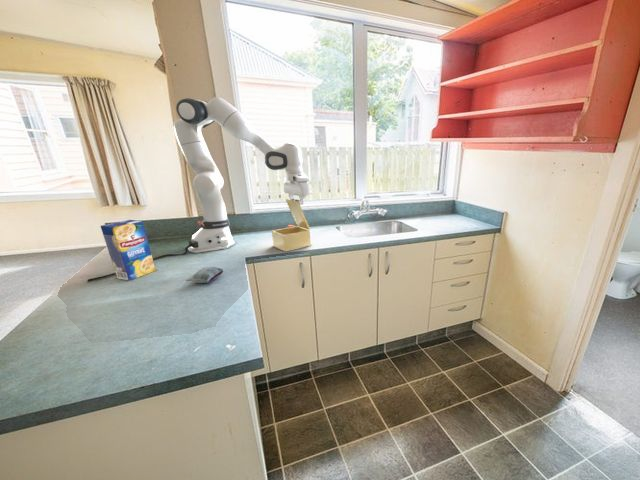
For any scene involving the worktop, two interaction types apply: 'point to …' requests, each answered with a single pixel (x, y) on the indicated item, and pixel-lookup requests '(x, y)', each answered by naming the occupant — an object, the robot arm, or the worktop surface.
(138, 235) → the beverage box
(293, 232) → the yellow open box
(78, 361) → the worktop surface
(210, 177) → the robot arm
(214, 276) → the packaged food
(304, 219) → the lid
